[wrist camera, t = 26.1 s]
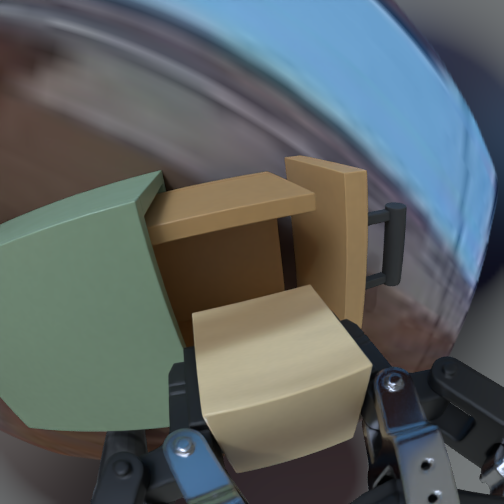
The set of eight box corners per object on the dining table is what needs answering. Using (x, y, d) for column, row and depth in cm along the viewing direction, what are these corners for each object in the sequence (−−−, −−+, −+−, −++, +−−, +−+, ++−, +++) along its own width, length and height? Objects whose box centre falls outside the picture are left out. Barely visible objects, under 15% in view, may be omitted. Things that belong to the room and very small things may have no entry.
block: (191, 312, 10) (201, 416, 6) (310, 283, 10) (373, 364, 6) (218, 388, 11) (236, 473, 7) (312, 363, 12) (353, 437, 8)
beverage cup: (124, 404, 25) (124, 575, 7) (168, 432, 28) (186, 578, 10) (87, 419, 25) (77, 563, 7) (129, 445, 28) (135, 574, 10)
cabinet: (161, 170, 17) (135, 200, 9) (201, 323, 23) (215, 419, 14) (0, 224, 15) (-72, 278, 7) (58, 348, 21) (28, 427, 12)
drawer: (360, 149, 19) (438, 164, 12) (361, 282, 23) (415, 334, 16) (101, 196, 16) (51, 237, 9) (150, 335, 21) (143, 412, 14)
